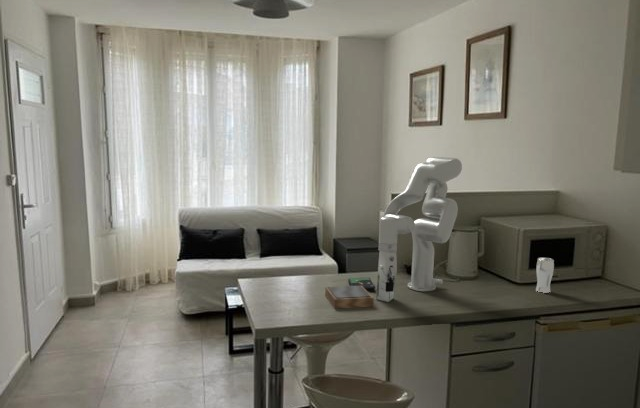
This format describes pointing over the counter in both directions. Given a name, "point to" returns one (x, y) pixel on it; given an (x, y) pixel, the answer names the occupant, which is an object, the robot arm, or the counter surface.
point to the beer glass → (544, 274)
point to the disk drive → (362, 283)
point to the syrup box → (383, 286)
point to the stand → (349, 297)
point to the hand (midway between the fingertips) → (385, 288)
